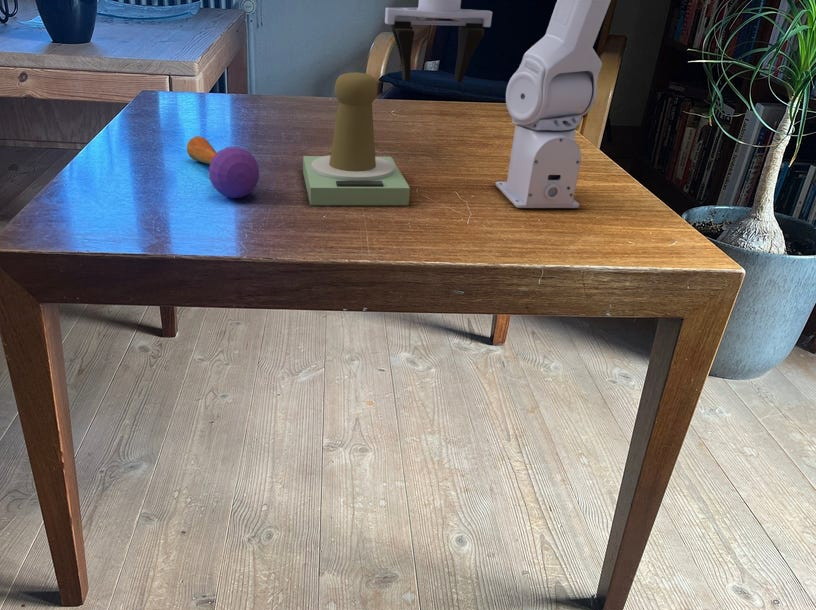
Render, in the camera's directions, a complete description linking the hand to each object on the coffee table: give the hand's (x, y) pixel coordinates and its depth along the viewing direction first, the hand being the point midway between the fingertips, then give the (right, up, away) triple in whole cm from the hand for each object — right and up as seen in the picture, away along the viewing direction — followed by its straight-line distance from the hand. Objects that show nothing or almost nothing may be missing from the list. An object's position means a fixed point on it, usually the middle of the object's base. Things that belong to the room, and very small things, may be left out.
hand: (432, 80), depth 105 cm
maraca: (-29, -17, -10) cm, 35 cm away
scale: (-12, -18, -11) cm, 24 cm away
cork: (-12, -15, -11) cm, 22 cm away
